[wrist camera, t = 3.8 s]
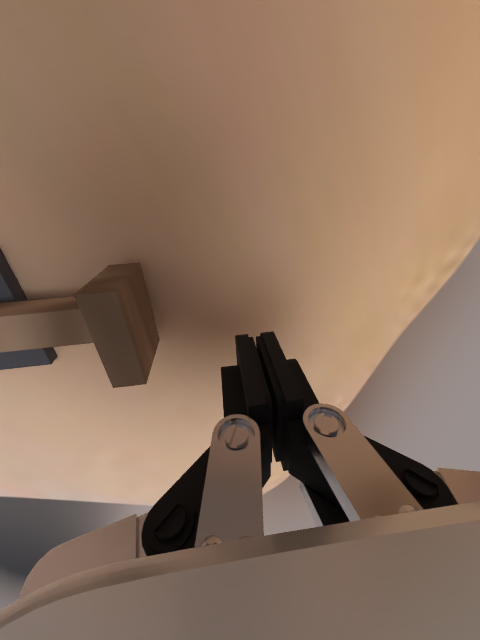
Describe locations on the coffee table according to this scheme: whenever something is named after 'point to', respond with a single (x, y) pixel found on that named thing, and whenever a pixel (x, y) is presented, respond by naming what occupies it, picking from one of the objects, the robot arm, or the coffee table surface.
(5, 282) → the panel
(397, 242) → the coffee table surface
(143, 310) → the sled
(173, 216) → the coffee table surface
